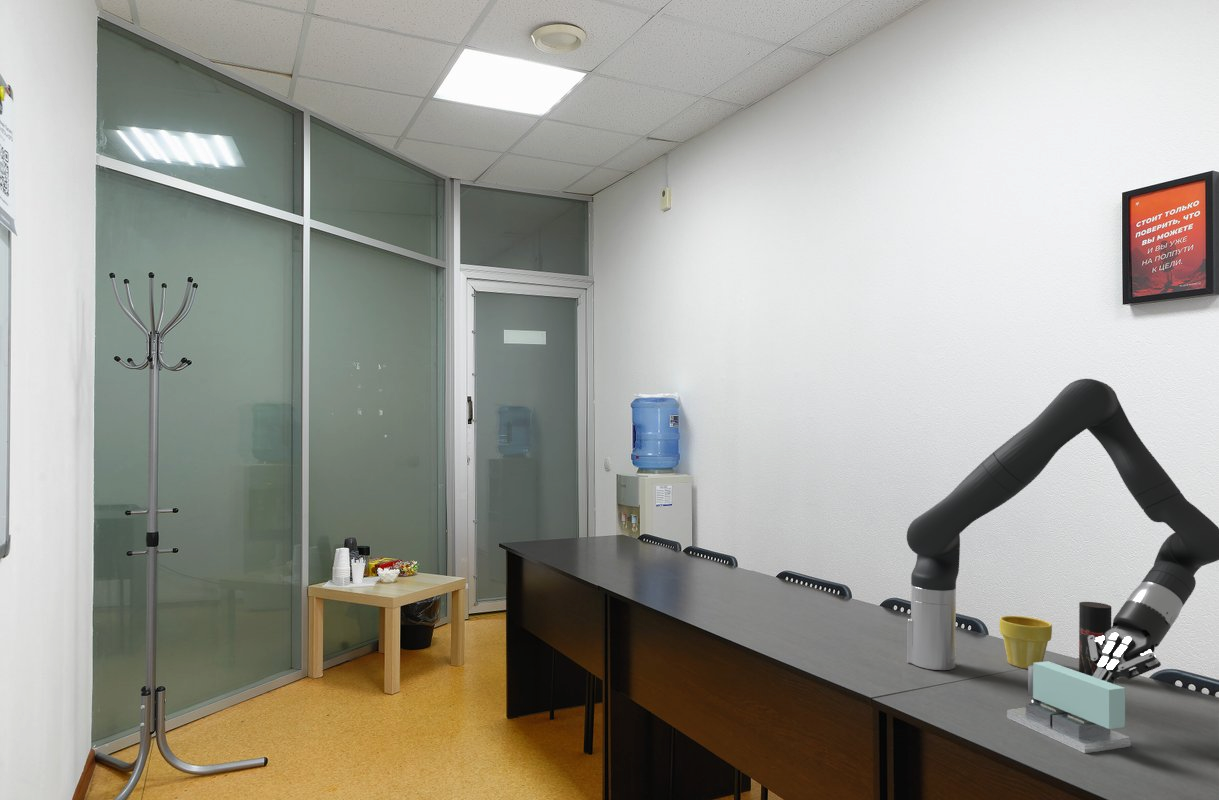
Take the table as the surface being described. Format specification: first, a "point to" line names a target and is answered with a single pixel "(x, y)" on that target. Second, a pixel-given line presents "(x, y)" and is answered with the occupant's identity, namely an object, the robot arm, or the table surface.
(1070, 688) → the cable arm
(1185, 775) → the table surface
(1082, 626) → the deodorant
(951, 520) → the robot arm
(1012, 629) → the plant pot
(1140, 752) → the table surface
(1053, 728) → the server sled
